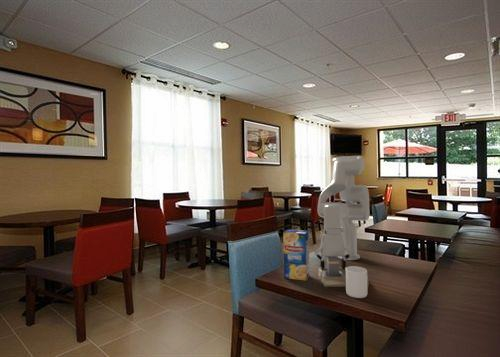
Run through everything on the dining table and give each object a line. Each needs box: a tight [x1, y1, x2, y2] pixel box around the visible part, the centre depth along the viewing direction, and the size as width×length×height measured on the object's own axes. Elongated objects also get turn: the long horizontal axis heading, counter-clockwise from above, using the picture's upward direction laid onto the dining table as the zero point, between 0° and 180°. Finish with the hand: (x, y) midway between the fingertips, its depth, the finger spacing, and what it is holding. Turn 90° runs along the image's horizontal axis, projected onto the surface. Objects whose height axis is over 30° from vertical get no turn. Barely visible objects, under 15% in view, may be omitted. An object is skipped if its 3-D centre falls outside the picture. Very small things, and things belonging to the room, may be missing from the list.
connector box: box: [317, 267, 370, 288], centre depth 135 cm, size 14×19×4 cm
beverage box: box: [282, 229, 310, 282], centre depth 142 cm, size 7×11×22 cm, turn 67°
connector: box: [326, 257, 340, 276], centre depth 136 cm, size 5×5×10 cm
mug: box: [345, 265, 368, 299], centre depth 122 cm, size 12×8×10 cm
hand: (333, 268), depth 135 cm, fingers open, 8 cm apart
